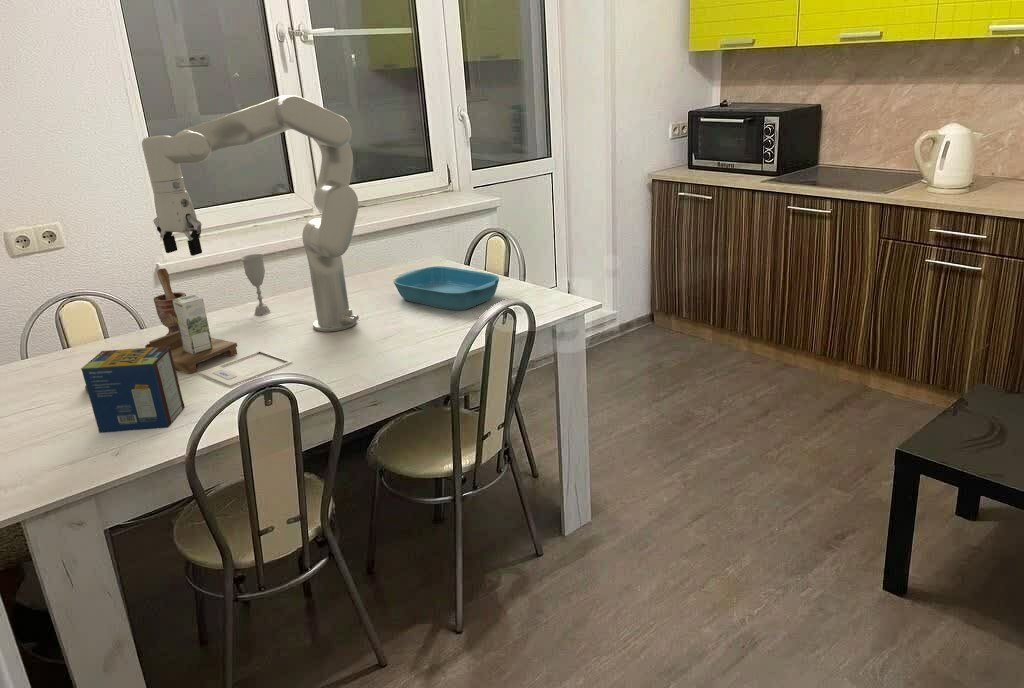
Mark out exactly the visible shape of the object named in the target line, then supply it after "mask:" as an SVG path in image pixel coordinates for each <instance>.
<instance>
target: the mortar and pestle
mask: <svg viewBox="0 0 1024 688" xmlns="http://www.w3.org/2000/svg"><path fill="white" fill-rule="evenodd" d="M156 273H157V277H158V280H159V282H160V284H161V286H162V289H163V292H164V294H160V295H157V296H154V298H153V302H154V306H155V309H156V314H157V316H158V319H159V320H160V322H161V324H162V325H163V326H164V327H166V328H167V329H168V332H167V333H166V334H165V336H166V335H168V334H171V333H174V332H176V331H179V327H178V323H177V318H176V314H175V309H174V305H173V300H174V299H178V298H182V297H185V296H187V293H184V292H180V291H179V292H173V290H172V287H171V281H170V274H169V272H168V270H167V268H159V269H158V270H157V272H156Z"/></svg>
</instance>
